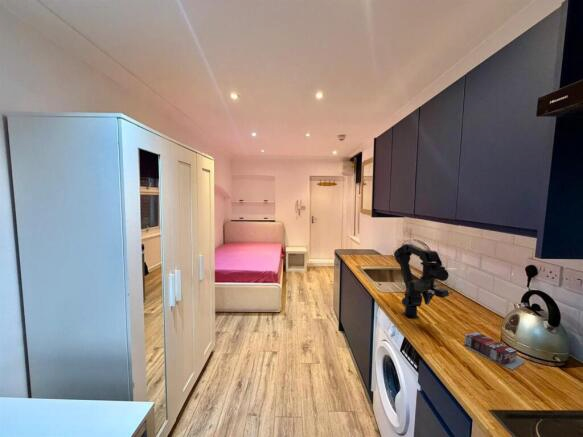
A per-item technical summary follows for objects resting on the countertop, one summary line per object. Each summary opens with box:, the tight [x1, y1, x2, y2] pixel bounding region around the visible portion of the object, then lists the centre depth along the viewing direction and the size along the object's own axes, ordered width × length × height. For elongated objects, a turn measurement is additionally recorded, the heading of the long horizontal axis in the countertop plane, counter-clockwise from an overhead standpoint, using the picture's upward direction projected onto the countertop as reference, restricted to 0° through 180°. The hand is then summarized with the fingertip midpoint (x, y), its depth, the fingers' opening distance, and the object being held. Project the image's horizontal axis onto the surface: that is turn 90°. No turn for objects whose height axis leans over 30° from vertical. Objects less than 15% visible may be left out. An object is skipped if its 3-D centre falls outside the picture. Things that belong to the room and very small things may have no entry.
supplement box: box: [464, 331, 518, 366], centre depth 110 cm, size 9×5×16 cm
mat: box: [465, 345, 527, 371], centre depth 109 cm, size 17×12×1 cm
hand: (426, 304), depth 132 cm, fingers closed
